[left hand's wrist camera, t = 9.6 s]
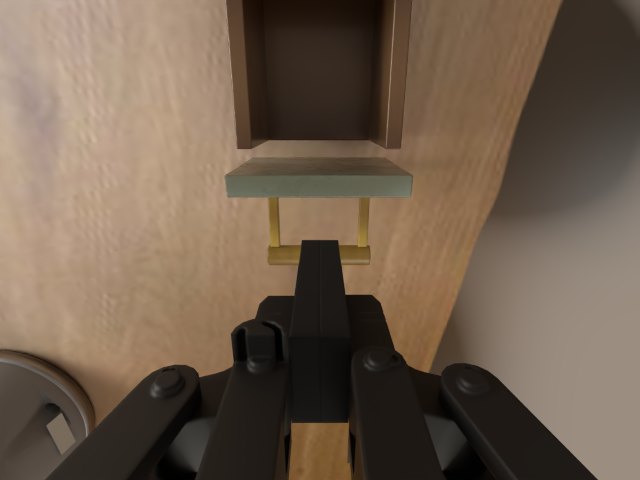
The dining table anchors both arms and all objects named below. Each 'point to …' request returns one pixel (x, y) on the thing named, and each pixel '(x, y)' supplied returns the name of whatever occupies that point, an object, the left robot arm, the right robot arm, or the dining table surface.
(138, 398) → the left robot arm
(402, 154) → the dining table surface
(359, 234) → the drawer
